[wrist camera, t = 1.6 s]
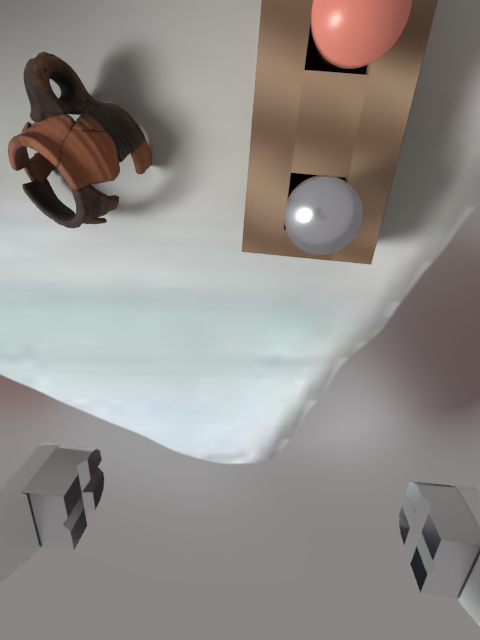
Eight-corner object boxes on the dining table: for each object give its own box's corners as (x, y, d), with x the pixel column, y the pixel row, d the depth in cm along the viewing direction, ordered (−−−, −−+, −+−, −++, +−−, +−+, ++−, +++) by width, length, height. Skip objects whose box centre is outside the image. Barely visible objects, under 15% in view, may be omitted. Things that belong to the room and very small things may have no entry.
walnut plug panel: (268, -23, 26) (266, -65, 20) (413, -13, 25) (450, -53, 20) (247, 233, 34) (241, 251, 28) (355, 243, 33) (371, 264, 28)
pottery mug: (173, 195, 33) (111, 242, 28) (103, 193, 38) (39, 233, 33) (118, 31, 26) (20, 57, 21) (39, 53, 30) (-57, 79, 25)
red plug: (309, -10, 22) (321, -63, 16) (384, -5, 22) (425, -56, 16) (298, 79, 25) (305, 61, 19) (367, 84, 24) (397, 68, 18)
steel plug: (286, 164, 27) (290, 173, 21) (349, 170, 27) (371, 180, 21) (279, 227, 29) (280, 251, 23) (336, 232, 29) (353, 258, 23)
